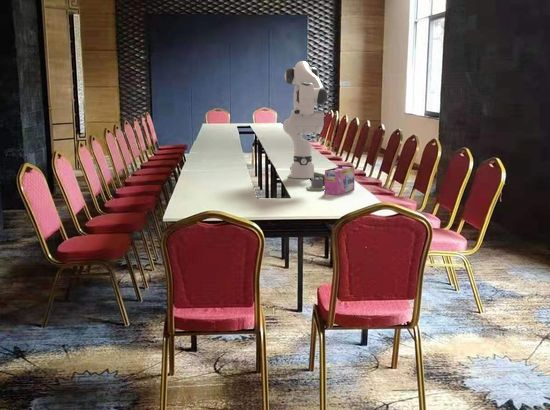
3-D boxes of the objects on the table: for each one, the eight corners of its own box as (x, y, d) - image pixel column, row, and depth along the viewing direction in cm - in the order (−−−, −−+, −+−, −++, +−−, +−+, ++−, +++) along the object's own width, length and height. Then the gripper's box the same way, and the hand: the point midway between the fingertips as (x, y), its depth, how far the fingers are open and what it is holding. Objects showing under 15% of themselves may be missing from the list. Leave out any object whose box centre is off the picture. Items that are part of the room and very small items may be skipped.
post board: (306, 188, 352) (306, 177, 351) (333, 188, 353) (333, 177, 352) (308, 190, 344) (308, 180, 343) (335, 190, 346) (336, 179, 344)
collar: (311, 185, 353) (311, 177, 352) (321, 185, 354) (321, 177, 353) (312, 187, 347) (312, 179, 346) (323, 187, 348) (323, 179, 347)
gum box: (343, 188, 354) (344, 165, 351) (355, 189, 350) (356, 166, 347) (323, 194, 334) (324, 170, 332) (336, 195, 330) (337, 171, 327)
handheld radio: (328, 187, 356) (307, 181, 378) (333, 187, 357) (312, 181, 379) (329, 176, 355) (308, 171, 376) (334, 176, 356) (312, 170, 378)
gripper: (323, 110, 351) (323, 134, 354) (288, 110, 349) (288, 134, 352) (325, 110, 345) (324, 135, 347) (289, 111, 343) (289, 135, 346)
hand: (306, 134), depth 350 cm, fingers open, 8 cm apart
